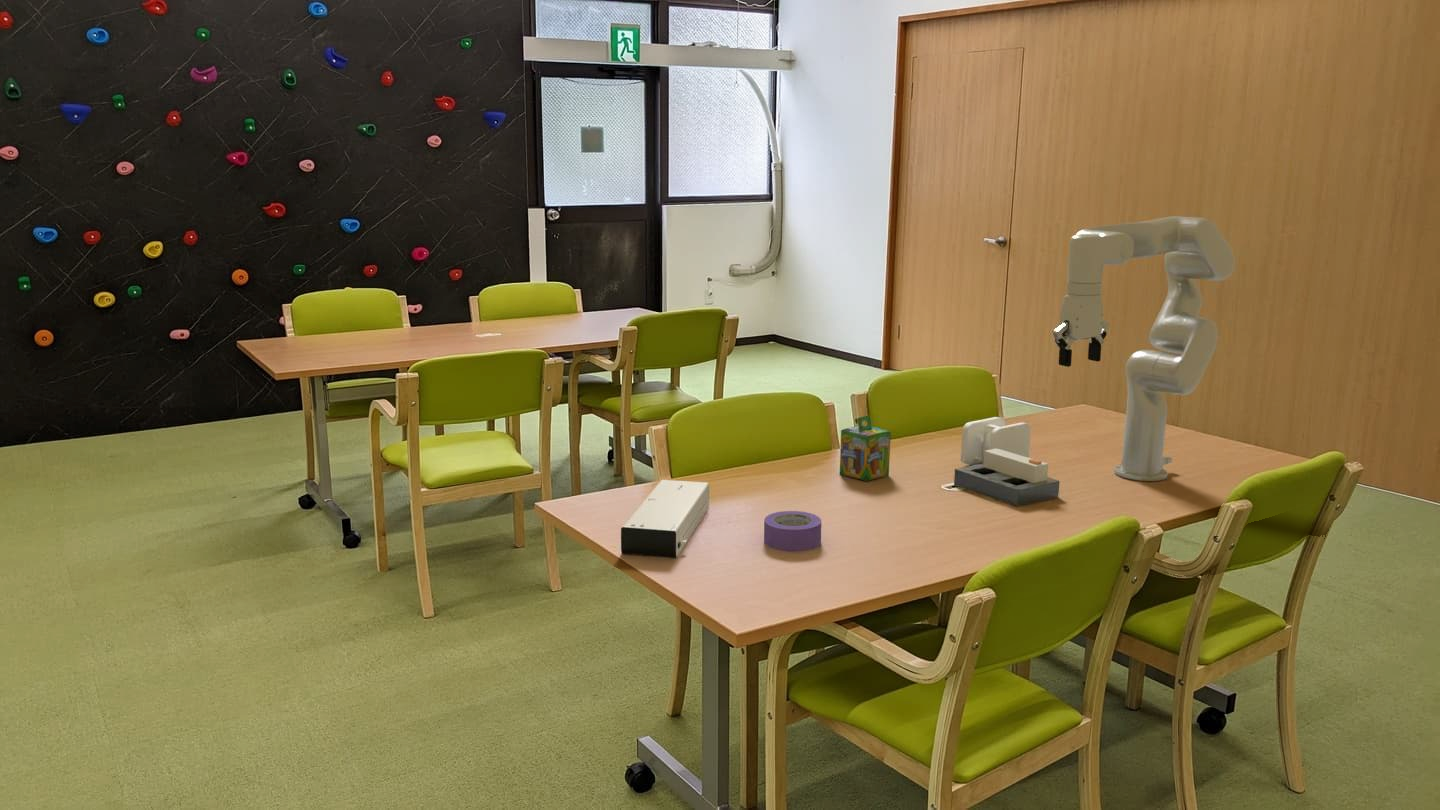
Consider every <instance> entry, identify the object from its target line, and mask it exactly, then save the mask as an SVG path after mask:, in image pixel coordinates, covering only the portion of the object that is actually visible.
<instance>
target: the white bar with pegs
mask: <svg viewBox="0 0 1440 810" xmlns="http://www.w3.org/2000/svg"><path fill="white" fill-rule="evenodd" d="M982 464H983V467H986V468H989V469H992V470H995V471H998V472H1001V473H1004V474H1008V475H1011V476H1014V477H1017V478H1020V479H1023V480H1026V481H1029V482H1033V483H1036V482H1041V481H1045V480H1047V477H1048V470H1049V463H1047V462H1044V461H1042V460H1039V459H1035V458H1030V457H1029V458H1027V457H1024V456H1021V455H1017V454H1014V453H1011V452H1007V451H1004V450H1001V449H997V448H996V449H991V450H986V451H984V461H983V462H982Z"/></svg>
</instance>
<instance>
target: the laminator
mask: <svg viewBox="0 0 1440 810" xmlns="http://www.w3.org/2000/svg"><path fill="white" fill-rule="evenodd" d="M709 507H710V483H709V482H705V481H703V482H702V481H691V480H689V481H686V480H674V479H661V480H660V481H659V482H658V483H657V484H656V486H655V487H654V488H653V489H652V491H651V492H650V493H649V494H648V495H647V496H646V498H645V499H644V500H643V502H641V503H640V505H639V506H638V507H637V509H636V510H635V511H634V512H633V513H632V515H631V516H629V518H628V520H626V522H625V523H624V524H623V525H622V526H621V529H620V552H621V554H622V555H635V556H647V557H650V556H651V557H661V558H670V559H671V558H674V559H677V558H678V557H679V555H680V554H681V553H682V551H683V549H684V547H685V546H686V544H687V543H688V541H689V540H688V539H690V538H691V537H692V535H693V533H694V532H695V531H696V529H695V528H697V527H698V525H699V523H700V522H701V521H702V519H703V518H702V517H704V516H705V514H706V513H707V511H708V510H709ZM707 509H708V510H707ZM700 520H701V521H700Z"/></svg>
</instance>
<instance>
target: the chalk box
mask: <svg viewBox="0 0 1440 810" xmlns="http://www.w3.org/2000/svg"><path fill="white" fill-rule="evenodd" d="M863 421H864V422H866V424H867V425H865V424H863ZM871 422H872V421H871V416H870V415H869V414H868V415H864V416H859V417H857V424H858V425H856V426H852V427H848V428H843V429H841V430H840V451H839V452H840V457H839V475H842V476H846V477H850V478H854V479H858V480H862V481H865V482H868V481H872V480H875V479H879V478H883V477H884V478H885V477H888V476H889V475H890V474H889V472H890V452H891V436H892V432H891V431H890V430H887V429H882V428H879V427H876V426H872V423H871Z"/></svg>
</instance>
